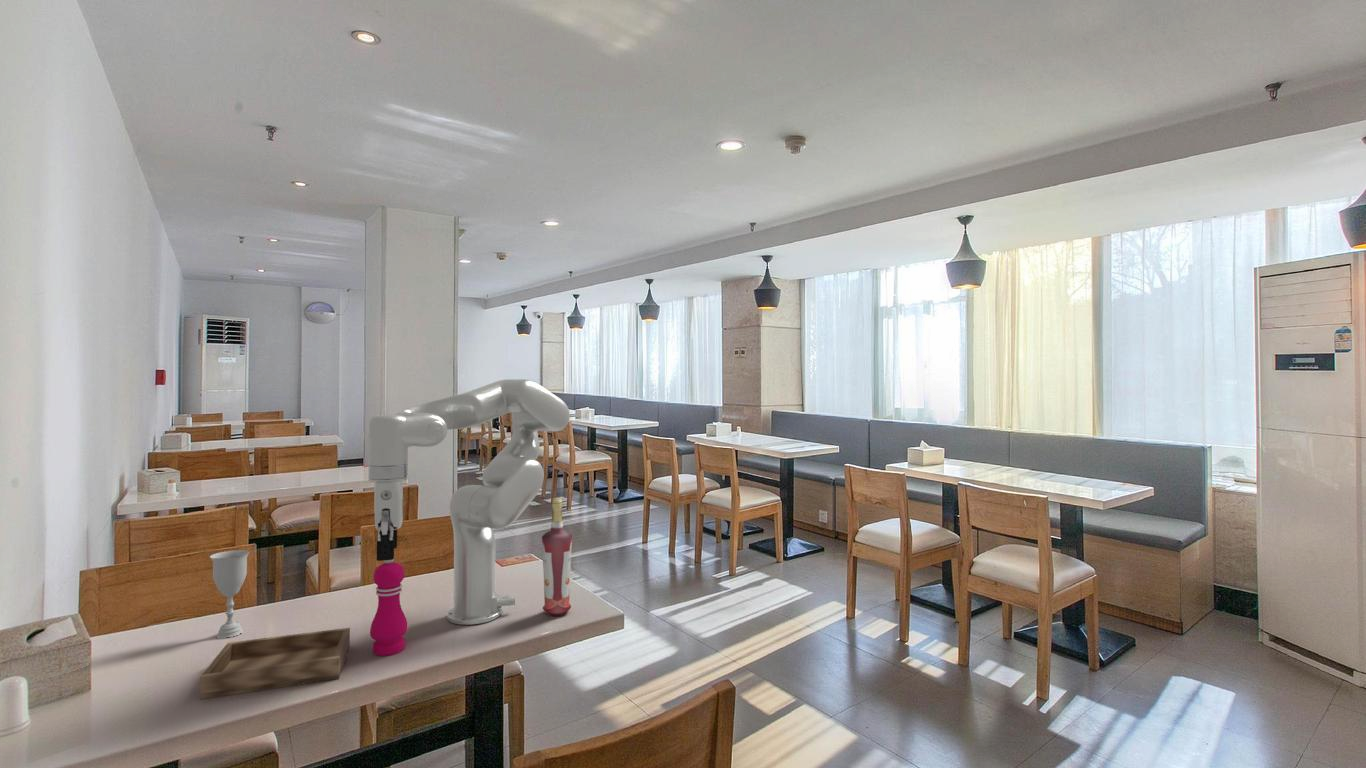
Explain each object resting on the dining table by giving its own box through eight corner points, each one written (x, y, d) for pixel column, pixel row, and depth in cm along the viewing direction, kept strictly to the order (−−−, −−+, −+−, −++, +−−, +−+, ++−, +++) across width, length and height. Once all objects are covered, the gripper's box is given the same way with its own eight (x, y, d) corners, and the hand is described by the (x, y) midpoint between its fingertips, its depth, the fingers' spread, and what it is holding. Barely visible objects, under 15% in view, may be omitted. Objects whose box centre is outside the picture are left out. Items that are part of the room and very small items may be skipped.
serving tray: (349, 646, 136) (349, 627, 136) (338, 678, 121) (338, 657, 121) (227, 662, 128) (227, 642, 128) (200, 699, 113) (200, 677, 113)
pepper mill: (393, 658, 130) (393, 561, 130) (362, 655, 132) (362, 559, 132) (414, 644, 137) (414, 552, 137) (385, 641, 139) (385, 550, 139)
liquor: (573, 616, 153) (573, 501, 153) (542, 619, 152) (542, 502, 152) (571, 606, 161) (571, 495, 160) (541, 608, 159) (541, 497, 159)
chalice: (207, 642, 138) (206, 560, 138) (213, 631, 144) (213, 552, 144) (247, 636, 141) (247, 555, 141) (251, 626, 147) (251, 548, 147)
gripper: (405, 477, 127) (404, 563, 127) (409, 467, 144) (408, 543, 143) (364, 479, 125) (362, 566, 125) (372, 468, 141) (371, 546, 141)
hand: (387, 554), depth 134 cm, fingers open, 9 cm apart
